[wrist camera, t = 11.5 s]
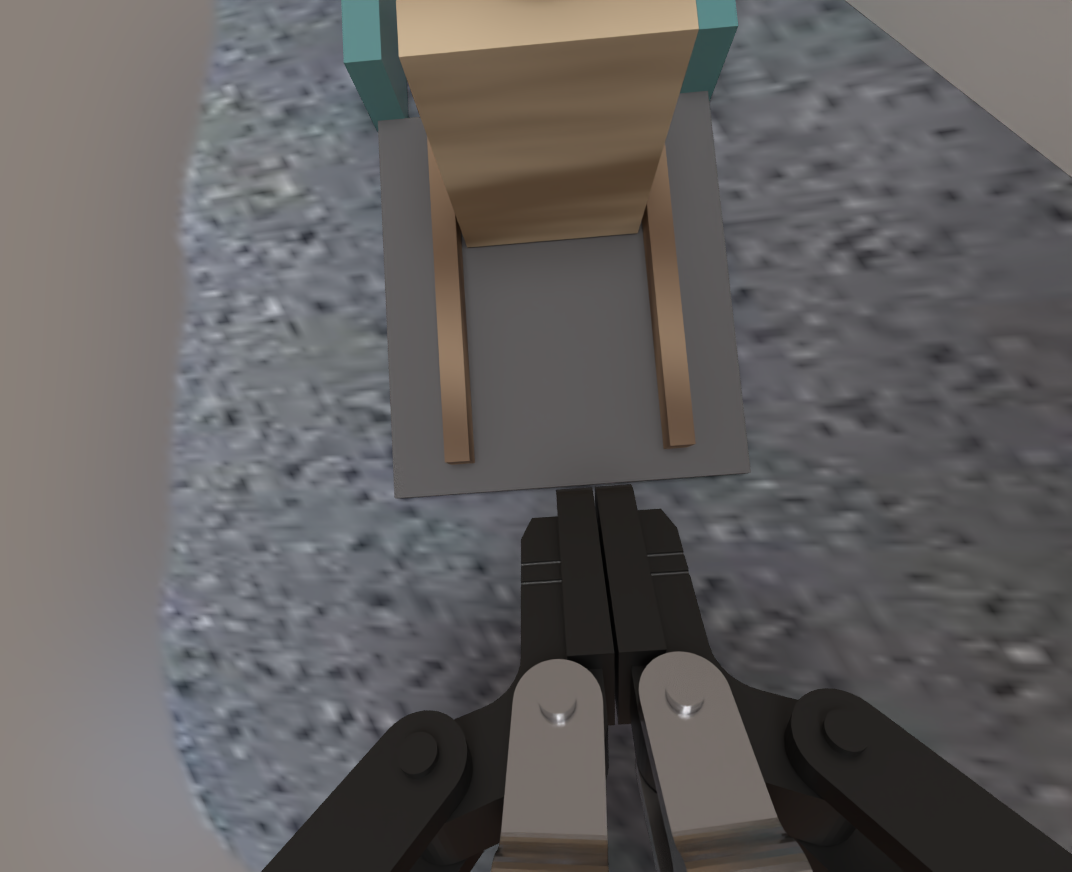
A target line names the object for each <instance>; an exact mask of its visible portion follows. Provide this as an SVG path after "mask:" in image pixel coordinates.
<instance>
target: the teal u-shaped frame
mask: <svg viewBox="0 0 1072 872" xmlns="http://www.w3.org/2000/svg"><path fill="white" fill-rule="evenodd" d="M341 2H342V28H343V54H344V64H345V66H346V68H347V70H348V72H349V74H350V77H351V79H352V81H353V83H354V85H355V87H356V89H357V91H358V93H359V95H360V97H361V99H362V101H363V103H364V105H365V107H366V109H367V111H368V113H369V115H370V117H371V119H372V121H373V124H374V126H375V128H376V130H377V132H378V121H382V120H393V119H404V118H409V117H408V97H407V78H406V76H405V73H404V70H403V67H402V64H401V62H400V59H399V50H398V30H397V10H396V0H341ZM696 7H697V16H698V25H699V30H698V33H697V37H696V40H695V43H694V47H693V50H692V53H691V57H690V60H689V63H688V67H687V70H686V73H685V77H684V80H683V83H682V87H681V90H680V93H689V92H700V91H708V95H709V101H710V99H711V96H712V93H713V91H714V88H715V85H716V83H717V80H718V78H719V75H720V72H721V70H722V67H723V64H724V62H725V59H726V57H727V54H728V51H729V49H730V46H731V43H732V41H733V38H734V35H735V33H736V30H737V28H738V20H737V12H736V3H735V0H696Z"/></svg>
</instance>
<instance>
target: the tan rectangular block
mask: <svg viewBox="0 0 1072 872" xmlns="http://www.w3.org/2000/svg"><path fill="white" fill-rule="evenodd" d="M396 10H397V30H398V50H399V59H400V62H401V64H402V67H403V70H404V73H405V76H406V78H407V81H408V84H409V87H410V90H411V92H412V95H413V98H414V101H415V103H416V106H417V109H418V112H419V115H420V117H421V120H422V123H423V126H424V129H425V131H426V134H427V137H428V140H429V143H430V145H431V148H432V151H433V154H434V156H435V159H436V162H437V165H438V168H439V170H440V173H441V176H442V179H443V182H444V184H445V187H446V190H447V193H448V195H449V198H450V201H451V204H452V207H453V209H454V212H455V215H456V218H457V221H458V223H459V226H460V229H461V232H462V234H463V237H464V240H465V243H466V246H467V248H468V247H480V246H491V245H503V244H515V243H527V242H539V241H551V240H562V239H574V238H586V237H598V236H610V235H622V234H633V233H638V230H639V227H640V224H641V220H642V217H643V214H644V210H645V207H646V204H647V200H648V197H649V194H650V190H651V187H652V184H653V180H654V177H655V174H656V170H657V167H658V164H659V160H660V157H661V154H662V150H663V147H664V144H665V140H666V137H667V134H668V130H669V127H670V124H671V120H672V117H673V114H674V110H675V107H676V104H677V100H678V97H679V94H680V90H681V87H682V83H683V80H684V77H685V73H686V70H687V67H688V63H689V60H690V57H691V53H692V50H693V47H694V43H695V40H696V37H697V33H698V30H699V25H698V16H697V7H696V0H396Z"/></svg>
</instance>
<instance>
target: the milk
mask: <svg viewBox="0 0 1072 872" xmlns="http://www.w3.org/2000/svg"><path fill="white" fill-rule="evenodd" d="M845 1H846V2H848V3H849V4H850V5H852V6H853V7H854V8H855V9H857V10H858V11H859V12H860V13H862V14H863V15H864V16H866V17H867V18H868V19H869V20H871V21H872V22H873V23H875V24H876V25H877V26H878V27H880V28H881V29H882V30H884V31H885V32H886V33H887V34H889V35H890V36H891V37H893V38H894V39H895V40H896V41H898V42H899V43H900V44H901V45H903V46H904V47H905V48H907V49H908V50H909V51H910V52H912V53H913V54H914V55H916V56H917V57H918V58H919V59H921V60H922V61H923V62H925V63H926V64H927V65H928V66H930V67H931V68H932V69H934V70H935V71H936V72H937V73H939V74H940V75H941V76H942V77H944V78H945V79H946V80H948V81H949V82H950V83H951V84H953V85H954V86H955V87H957V88H958V89H959V90H960V91H962V92H963V93H964V94H966V95H967V96H968V97H969V98H971V99H972V100H973V101H975V102H976V103H977V104H978V105H980V106H981V107H982V108H983V109H985V110H986V111H987V112H989V113H990V114H991V115H992V116H994V117H995V118H996V119H998V120H999V121H1000V122H1001V123H1003V124H1004V125H1005V126H1007V127H1008V128H1009V129H1010V130H1012V131H1013V132H1014V133H1016V134H1017V135H1018V136H1019V137H1021V138H1022V139H1023V140H1024V141H1026V142H1027V143H1028V144H1030V145H1031V146H1032V147H1033V148H1035V149H1036V150H1037V151H1039V152H1040V153H1041V154H1042V155H1044V156H1045V157H1046V158H1048V159H1049V160H1050V161H1051V162H1053V163H1054V164H1055V165H1057V166H1058V167H1059V168H1060V169H1062V170H1063V171H1064V172H1065V173H1067V174H1068V175H1069V176H1071V177H1072V0H845Z"/></svg>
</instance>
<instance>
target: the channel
mask: <svg viewBox="0 0 1072 872" xmlns="http://www.w3.org/2000/svg"><path fill="white" fill-rule="evenodd" d="M427 145H428V163H429V181H430V200H431V218H432V237H433V255H434V273H435V292H436V310H437V329H438V347H439V365H440V384H441V402H442V420H443V439H444V457H445V463H448V464H451V465H456V464H469V463H475V457H474V441H473V424H472V407H471V391H470V374H469V357H468V341H467V324H466V307H465V291H464V274H463V257H462V241H461V229H460V226H459V223H458V221H457V218H456V215H455V212H454V209H453V207H452V204H451V201H450V198H449V195H448V193H447V190H446V187H445V184H444V182H443V179H442V176H441V173H440V170H439V168H438V165H437V162H436V159H435V156H434V154H433V151H432V148H431V145H430V143H429V140H428V137H427ZM642 228H643V239H644V249H645V260H646V270H647V281H648V291H649V302H650V312H651V323H652V333H653V343H654V354H655V364H656V375H657V385H658V396H659V406H660V417H661V427H662V437H663V448H664V449H672V448H685V447H690V446H692V445H694V444H696V442H695V432H694V422H693V412H692V402H691V393H690V383H689V373H688V363H687V353H686V343H685V334H684V324H683V314H682V304H681V294H680V285H679V275H678V265H677V255H676V245H675V235H674V226H673V216H672V206H671V196H670V186H669V177H668V167H667V157H666V147H665V144H664V147H663V150H662V154H661V157H660V160H659V164H658V167H657V170H656V174H655V177H654V180H653V184H652V187H651V190H650V194H649V197H648V200H647V204H646V207H645V210H644V214H643V217H642Z"/></svg>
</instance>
